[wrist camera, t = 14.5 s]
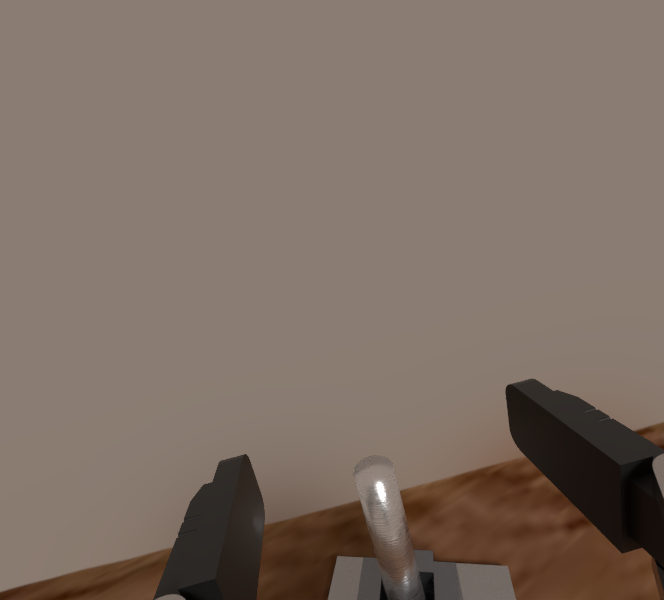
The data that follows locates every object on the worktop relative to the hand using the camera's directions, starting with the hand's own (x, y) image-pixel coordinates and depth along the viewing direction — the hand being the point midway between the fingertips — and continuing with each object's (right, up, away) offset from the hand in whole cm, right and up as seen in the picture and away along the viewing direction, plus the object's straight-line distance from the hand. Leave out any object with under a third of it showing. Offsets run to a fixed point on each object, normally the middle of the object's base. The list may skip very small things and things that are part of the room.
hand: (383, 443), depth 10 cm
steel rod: (+5, -22, +16) cm, 28 cm away
